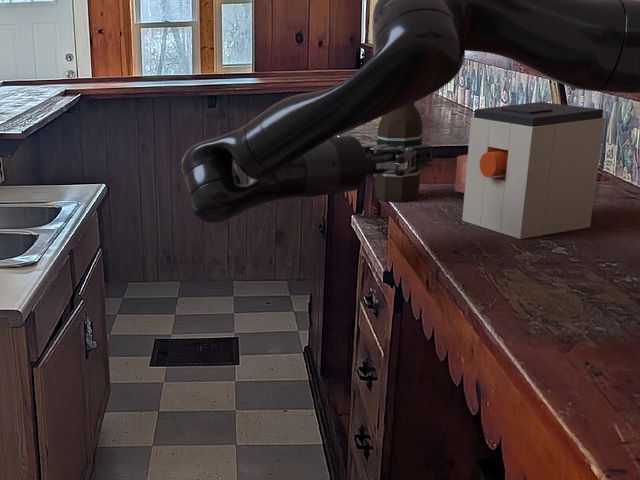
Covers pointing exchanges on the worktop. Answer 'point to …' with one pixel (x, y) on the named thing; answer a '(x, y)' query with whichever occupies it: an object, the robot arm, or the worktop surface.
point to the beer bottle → (396, 131)
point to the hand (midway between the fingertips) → (430, 152)
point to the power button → (494, 163)
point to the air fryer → (534, 168)
